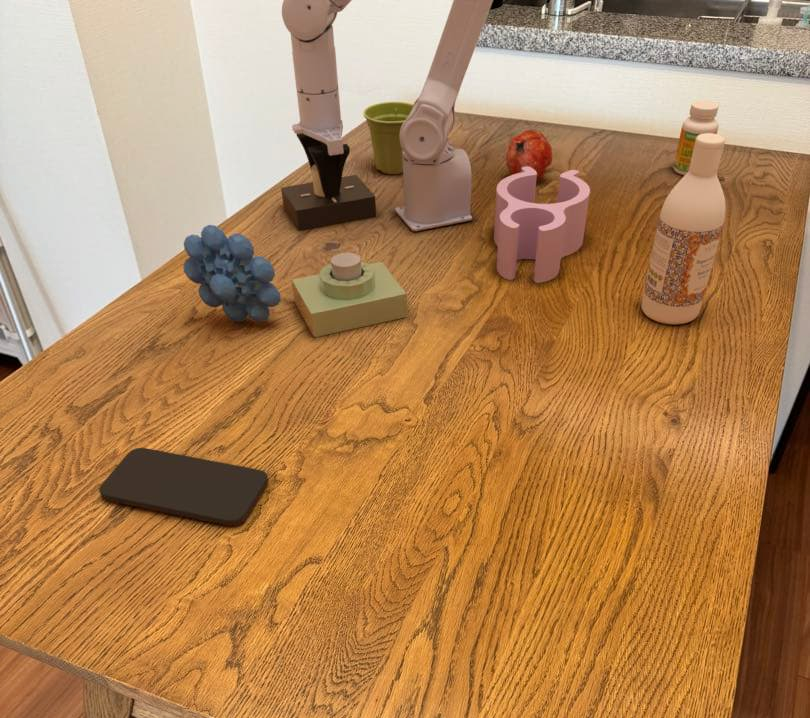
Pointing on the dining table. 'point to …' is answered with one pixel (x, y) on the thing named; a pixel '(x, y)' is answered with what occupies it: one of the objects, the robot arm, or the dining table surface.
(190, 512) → the phone
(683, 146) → the supplement bottle
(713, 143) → the bath foam
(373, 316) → the green button base
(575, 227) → the clip
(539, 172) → the pomegranate
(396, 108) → the plant pot
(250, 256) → the grapes
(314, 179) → the dial
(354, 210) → the dial panel
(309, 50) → the robot arm
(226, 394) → the dining table surface
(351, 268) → the pink push button
